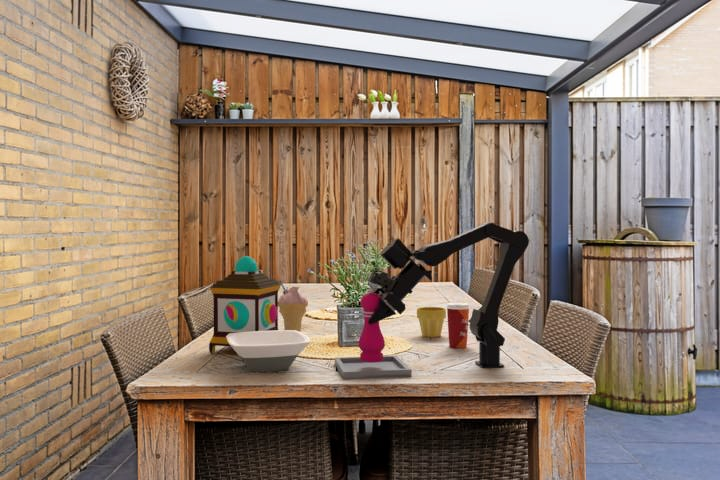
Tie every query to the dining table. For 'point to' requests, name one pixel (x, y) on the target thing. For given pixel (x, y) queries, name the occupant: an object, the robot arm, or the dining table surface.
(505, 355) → the dining table surface
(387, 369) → the slate tray
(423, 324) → the plant pot
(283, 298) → the ice cream cone
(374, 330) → the pepper mill
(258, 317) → the decorative lantern
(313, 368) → the dining table surface
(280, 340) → the bowl
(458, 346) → the paper cup
